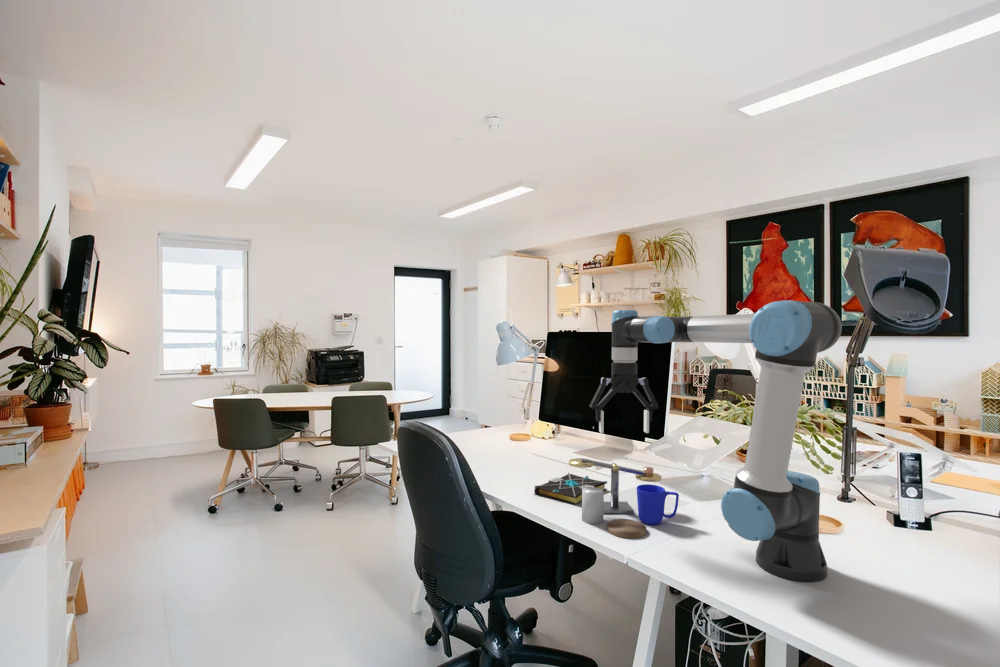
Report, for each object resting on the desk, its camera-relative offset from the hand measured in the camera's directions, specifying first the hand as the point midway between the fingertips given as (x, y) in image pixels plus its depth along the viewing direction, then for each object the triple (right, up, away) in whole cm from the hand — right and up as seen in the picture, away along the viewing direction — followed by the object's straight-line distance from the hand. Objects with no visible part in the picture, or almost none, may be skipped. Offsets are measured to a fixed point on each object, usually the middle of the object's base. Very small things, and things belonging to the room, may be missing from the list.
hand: (623, 432), depth 154 cm
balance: (0, -27, +10) cm, 29 cm away
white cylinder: (-9, -27, +1) cm, 28 cm away
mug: (+10, -27, 0) cm, 29 cm away
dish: (-1, -27, -7) cm, 28 cm away
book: (-12, -27, +27) cm, 40 cm away
